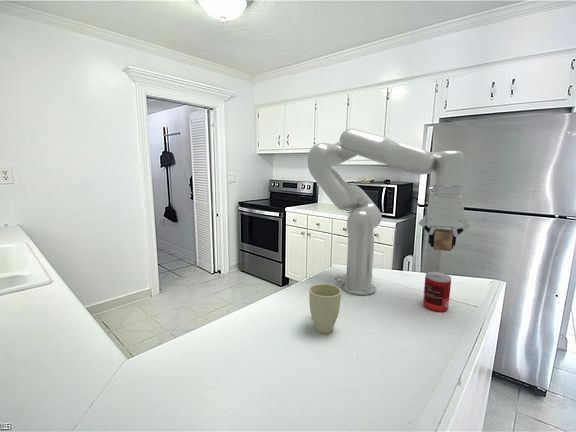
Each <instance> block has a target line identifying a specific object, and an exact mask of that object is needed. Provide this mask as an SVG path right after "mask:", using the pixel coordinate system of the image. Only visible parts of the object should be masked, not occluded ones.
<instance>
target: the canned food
mask: <svg viewBox="0 0 576 432" xmlns="http://www.w3.org/2000/svg"><path fill="white" fill-rule="evenodd" d="M424 277H425V278H424V286H423V287H424V288H423V298H422V299H423V300H422V303H423V307H425V309H428V310H429V311H432V312H436V313H444V312H446V311H448V309H449V303H450V296H451V285H452V277H451V276H450V275H449V274H446V273H442V272H438V271H429V272H426V273H425V276H424Z"/></svg>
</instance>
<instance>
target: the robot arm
mask: <svg viewBox="0 0 576 432" xmlns="http://www.w3.org/2000/svg"><path fill="white" fill-rule="evenodd" d="M307 155H308V156H307V168H308V170H309V173H310V175H311V177H312V178H313V180H314V181H315V182H316V183H317V185H319V187H320V188H321V189H322V190H323V192H324V193H325V195H326V196H327V197H328V198H329V200H330V201H331V202H332V203H333V205H334V206H335V207H336V208H337V209H338V210H340V211H348V210H349V211H350V213H349V215H348V216H347V219H346V229H347V257H346V259H347V260H346V274H344V275H339V274H335V277H334V280H336V282H338V283H341V288H342V289H343V290H344V291H345V292H347V293H349V294H352V295H357V296H368V295H373V294H374V293H375V292H376V290H377V289H376V285H374V284H373V270H374V269H373V265H374V250H375V249H374V247H375V242H374V241H375V237H374V229H376V228H377V227H379V225H380V224H381V221H382V213H381V211H380V209H379V207H378V206H377V205H376V204H375V203H374V201H373V200H372V199H371V198H370V197H369V195H368V194H367V193H366V192H365V191H364V190H363V189H362V188H361V187H360V186H358V185H355V184H349V183H347V182H346V181H345V180H344V179H343V178H342V176H341V175H340V173H338V172H337V170H335V169H334V168H333V167H334V166H338V165H340V164H343V163H344V162H346V161H349V160H352V159H353V158H355V157H356V156H359V157H362V158H365V159H368V160H371V161H373V162H377V163H379V164H383V165H386V166H389V167H391V168H395V169H399V170H401V171H404V172H407V173H410V174H414V175H431V174H434V178H433V179H434V180H433V185H432V186H428V188H427V189H428V192H432V193H433V194H430V197H429V199H428V204H427V209H426V214H425V215H424V216H423V217H422V218H421V219H420V220H419V221H418V225H419V226H421V228H423V229H424V230H425V232H426V233H428V244H429V245H430V247H431V248H433V246H434V230H435V229H437V228H447V229H448V228H450V230H451V231H452V232H453V239H452V249H451V250H453V249H454V247H455V246H456V242H457V237H458V235H461V234H462V233H463V232H464V231H466V230H468V229H470V227H471V225H470V224H469V223H468V222H467V220H466V219H465V218H464V210H465V209H464V208H465V205H464V203H465V202H464V196H463V195H461V191H462V190H461V188H462V178H463V169H464V159H465V154H464V152H462V151H460V150H443V151H438V152H434V151H428V150H425V149H422V148H421V149H420V148H418V147H414V146H410V145H407V144H404V143H400V142H397V141H394V140H392V139H390V138H387V137H384V136H381V135H377V134H374V133H370V132H367V131H364V130H360V129H357V128H348V129H345V130H344V131H343V132H342V133H341V134H340V136H339V141H338V142H336V143H333V144H332V143H327V142H320V143H316V144H315V145H313V146H312V147H311V148H310V150H309V152H308V154H307Z"/></svg>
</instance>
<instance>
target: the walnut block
mask: <svg viewBox="0 0 576 432" xmlns="http://www.w3.org/2000/svg"><path fill="white" fill-rule="evenodd" d="M452 239H453V232H452V231H451V228H450V229H448V228H446V229H445V228H435V230H434V246H433V247H432V249H433V250H436V251H444V252H452V250H453V249H452Z"/></svg>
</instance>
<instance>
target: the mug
mask: <svg viewBox="0 0 576 432" xmlns="http://www.w3.org/2000/svg"><path fill="white" fill-rule="evenodd" d="M308 293H309V311H310V315H311V319H312V323H313V326H314V328H315V331H316V332H317V333H319V334H323V335H326V334H330V333H332V331H333V330H334V327H335V325H336V323H337V322H336V321H337V319H338V317H339V313H340V307H341V297H342V295H341V294H342V290H341V288H340V287H338V286H336V285H333V284H330V283H317V284H313V285H310V286H309V289H308Z"/></svg>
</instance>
